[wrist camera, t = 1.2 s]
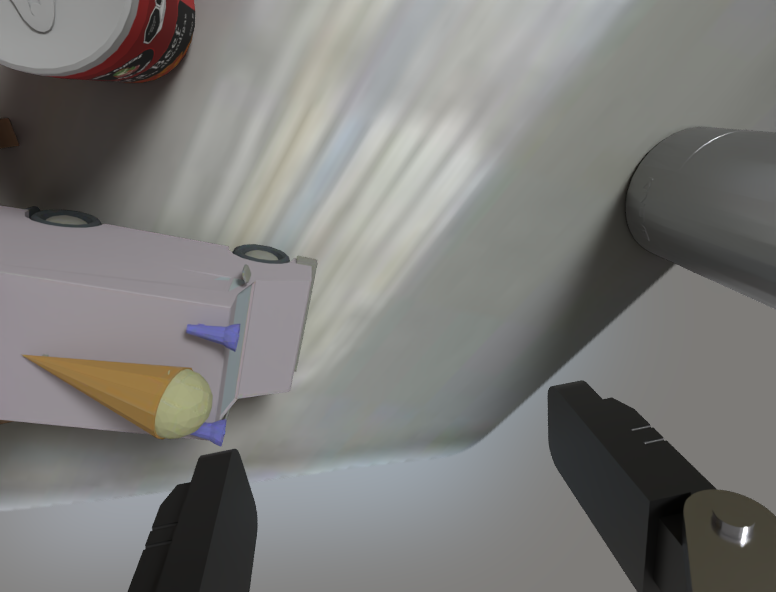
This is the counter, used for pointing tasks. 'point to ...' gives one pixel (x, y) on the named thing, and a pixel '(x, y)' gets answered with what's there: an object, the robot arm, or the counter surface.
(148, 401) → the toy vehicle
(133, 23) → the canned food
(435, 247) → the counter surface
